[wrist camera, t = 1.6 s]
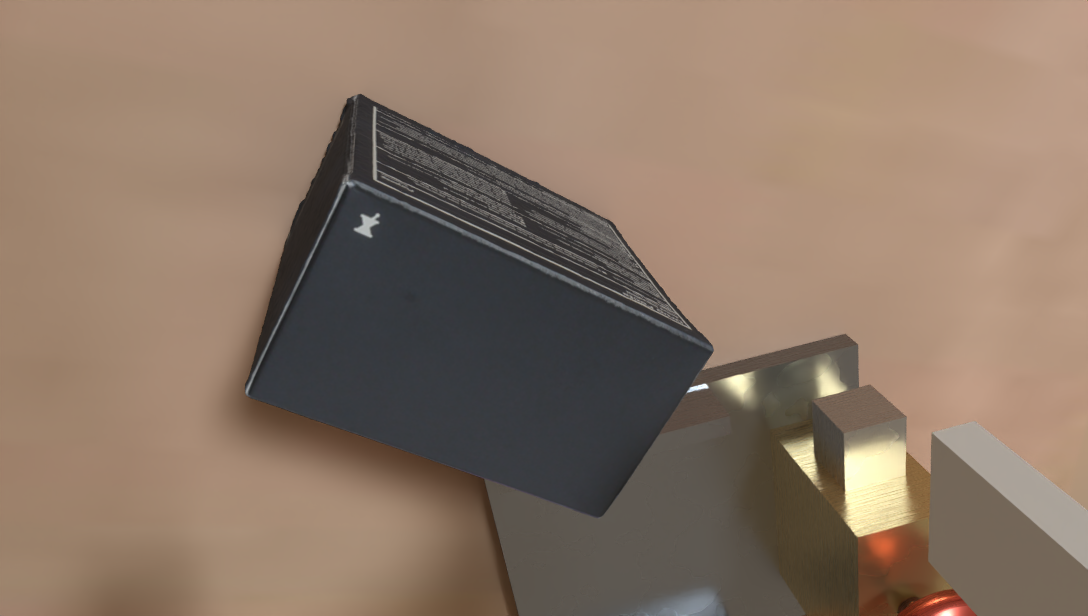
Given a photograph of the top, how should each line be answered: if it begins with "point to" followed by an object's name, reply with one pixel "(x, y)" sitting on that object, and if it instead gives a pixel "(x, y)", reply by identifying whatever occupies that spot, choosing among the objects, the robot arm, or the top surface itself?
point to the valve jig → (746, 508)
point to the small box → (470, 318)
